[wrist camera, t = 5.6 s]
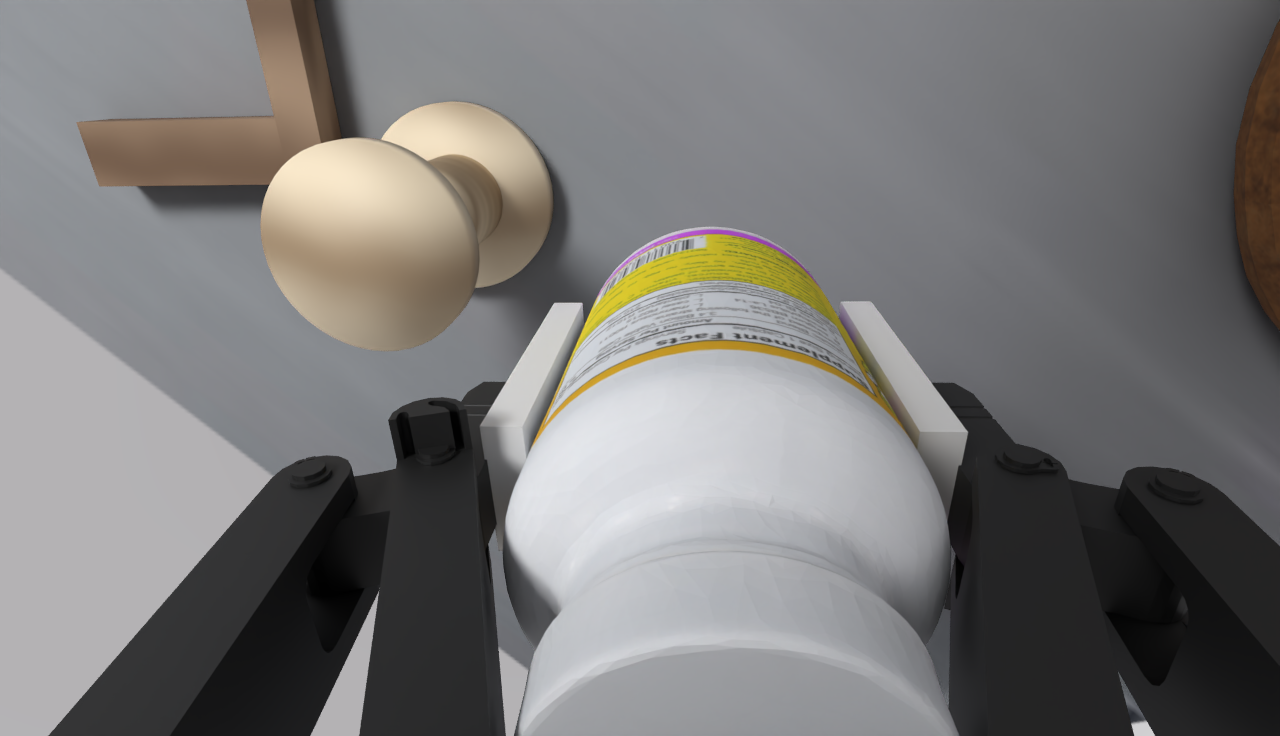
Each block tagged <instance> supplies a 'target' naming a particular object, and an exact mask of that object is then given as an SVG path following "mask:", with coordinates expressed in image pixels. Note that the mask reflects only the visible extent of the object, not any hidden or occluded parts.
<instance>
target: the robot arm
mask: <svg viewBox="0 0 1280 736" xmlns="http://www.w3.org/2000/svg"><path fill="white" fill-rule="evenodd" d="M839 320H840V321H841V323H842V325H843V326H844V328H845V329H846V331H847V333H848V335H849V337H850V338H851V340H852V342H853V343H854V345H855V347H856V349H857V350H858V352H859V354H860V355H861V357H862V359H863V360H864V362H865V364H866V366H867V367H868V369H869V371H870V372H871V374H872V376H873V377H874V379H875V381H876V382H877V384H878V386H879V387H880V389H881V391H882V392H883V394H884V396H885V398H886V399H887V401H888V402H889V404H890V406H891V407H892V409H893V411H894V413H895V414H896V416H897V418H898V419H899V421H900V422H901V424H902V426H903V427H904V429H905V431H906V432H907V434H908V435H909V437H910V439H911V440H912V442H913V444H914V445H915V447H916V449H917V450H918V452H919V454H920V456H921V458H922V460H923V461H924V463H925V465H926V467H927V468H928V470H929V472H930V474H931V476H932V478H933V480H934V482H935V485H936V487H937V489H938V492H939V495H940V498H941V500H942V503H943V506H944V510H945V514H946V518H947V524H948V530H949V536H950V544H951V546H952V548H953V549H954V551H955V553H956V555H955V560H954V565H953V569H952V574H951V579H950V583H949V588H948V593H947V597H946V602H945V607H944V609H948V610H951V615H950V670H949V711H950V713H951V716H952V718H953V721H954V723H955V726H956V728H957V731H958V733H959V736H1134V733H1133V729H1132V725H1131V721H1130V718H1129V714H1128V710H1127V706H1126V702H1125V698H1124V694H1123V690H1122V686H1121V682H1120V678H1119V675H1118V672H1119V673H1120V675H1121V677H1122V679H1123V680H1124V682H1125V684H1126V686H1127V687H1128V689H1129V691H1130V692H1131V694H1132V696H1133V698H1134V699H1135V701H1136V703H1137V705H1138V706H1139V708H1140V710H1141V712H1142V713H1143V715H1144V717H1145V719H1146V720H1147V722H1148V724H1149V726H1150V727H1151V729H1152V731H1153V733H1154V734H1155V736H1280V546H1279V545H1278V544H1277V543H1276V542H1275V541H1274V540H1272V539H1271V538H1270V537H1269V536H1268V535H1267V534H1266V533H1265V532H1264V531H1263V530H1262V529H1261V528H1260V527H1259V526H1258V525H1257V524H1255V523H1254V522H1253V521H1252V520H1251V519H1250V518H1249V517H1248V516H1247V515H1246V514H1245V513H1244V512H1243V511H1242V510H1241V509H1240V508H1239V507H1237V506H1236V505H1235V504H1234V503H1233V502H1232V501H1231V500H1230V499H1229V498H1228V497H1227V496H1226V495H1225V494H1224V493H1222V492H1221V491H1220V490H1218V489H1217V488H1215V487H1214V486H1212V485H1211V484H1209V483H1207V482H1205V481H1203V480H1201V479H1199V478H1196V477H1195V476H1194V475H1192V474H1189V473H1186V472H1183V471H1182V472H1179V470H1175V469H1171V468H1166V469H1165V468H1159V467H1136V468H1134V469H1131V470H1128V471H1127V472H1126V474H1125V476H1124V478H1123V480H1122V484H1121V487H1120V489H1114V488H1109V487H1103V486H1098V485H1092V484H1087V483H1082V482H1078V481H1073V480H1069V479H1068V476H1067V472H1066V470H1065V468H1064V467H1063V465H1062V464H1061V463H1060V462H1059V461H1058V460H1056V459H1055V458H1053V457H1052V456H1051V455H1049V454H1047V453H1044V452H1042V451H1040V450H1037V449H1035V448H1031V447H1027V446H1023V445H1019V444H1015V443H1014V442H1013V440H1012V439H1011V438H1010V437H1009V436H1008V434H1007V433H1006V432H1005V431H1004V430H1003V429H1002V427H1001V426H1000V425H999V424H998V423H997V421H996V420H995V419H992V416H991V414H990V413H989V412H988V411H987V410H986V409H984V406H983V405H982V404H981V403H980V401H979V400H978V399H977V398H976V397H975V395H974V394H972V393H971V392H969V391H967V390H965V389H964V388H962V387H960V386H958V385H957V384H955V383H931V382H930V380H929V379H928V378H927V376H926V375H925V374H924V372H923V371H922V370H921V368H920V367H919V366H918V364H917V363H916V361H915V360H914V359H913V357H912V356H911V355H910V353H909V352H908V351H907V349H906V348H905V347H904V345H903V344H902V343H901V341H900V340H899V339H898V337H897V336H896V335H895V333H894V332H893V331H892V329H891V328H890V326H889V325H888V324H887V322H886V321H885V320H884V318H883V317H882V316H881V314H880V313H879V312H878V310H877V309H876V308H875V306H874V305H873V304H872V302H840V312H839ZM583 328H584V317H583V303H554V304H553V306H552V307H551V309H550V311H549V312H548V314H547V316H546V317H545V319H544V321H543V322H542V324H541V326H540V327H539V329H538V331H537V332H536V334H535V336H534V337H533V339H532V341H531V342H530V344H529V345H528V347H527V349H526V350H525V352H524V354H523V355H522V357H521V359H520V360H519V362H518V364H517V365H516V367H515V369H514V370H513V372H512V374H511V375H510V377H509V379H508V380H507V382H483V383H481V384H480V385H478V386H477V387H475V388H474V389H472V390H470V391H469V392H468V393H467V394H466V396H465V397H464V398H463V400H462V401H461V402H460V401H458V400H456V399H451V398H444V397H441V398H428V399H423V400H419V401H414V402H412V403H409V404H407V405H404V406H402V407H400V408H399V409H398V410H396V411H395V412H393V413H392V415H391V417H390V418H389V420H388V421H389V426H390V431H391V435H392V440H393V444H394V449H395V453H396V458H397V465H396V469H393V470H389V471H384V472H379V473H373V474H367V475H361V476H355V477H354V475H353V471H352V467H351V465H350V463H349V461H348V460H346V459H344V458H342V457H339V456H319V457H315V456H314V457H309V458H306V459H305V460H304V459H302V460H299V461H297V462H295V463H294V464H292V465H290V466H288V467H286V468H284V469H282V470H281V471H280V472H278V473H277V474H276V475H275V476H274V477H272V479H271V480H270V481H269V482H268V483H267V484H266V485H265V487H264V488H263V489H262V490H261V491H260V492H259V494H258V495H257V496H256V497H255V498H254V499H253V500H252V502H251V503H250V504H249V505H248V506H247V507H246V509H245V510H244V511H243V512H242V513H241V514H240V515H239V517H238V518H237V519H236V520H235V521H234V522H233V523H232V525H231V526H230V527H229V528H228V529H227V530H226V532H225V533H224V534H223V535H222V536H221V538H219V540H218V541H217V542H216V543H215V545H213V547H212V548H211V549H210V550H209V551H208V552H207V553H206V555H205V556H204V557H203V558H202V559H201V560H200V562H199V563H198V564H197V565H196V566H195V567H194V569H193V570H192V571H191V572H190V573H189V574H188V576H187V577H186V578H185V579H184V580H183V581H182V582H181V583H180V585H179V586H178V587H177V588H176V589H175V590H174V592H173V593H172V594H171V595H170V596H169V597H168V598H167V600H166V601H165V602H164V603H163V604H162V606H161V607H160V608H159V609H158V610H157V611H156V612H155V613H154V615H153V616H152V617H151V618H150V619H149V620H148V622H147V623H146V624H145V625H144V626H143V627H142V628H141V630H140V631H139V632H138V633H137V634H136V635H135V637H134V638H133V639H132V640H131V641H130V642H129V644H128V645H127V646H126V647H125V648H124V649H123V650H122V652H121V653H120V654H119V655H118V656H117V657H116V659H115V660H114V661H113V662H112V663H111V664H110V665H109V667H108V668H107V669H106V670H105V671H104V672H103V674H102V675H101V676H100V677H99V678H98V679H97V680H96V681H95V683H94V684H93V685H92V686H91V687H90V688H89V690H88V691H87V692H86V693H85V694H84V695H83V696H82V698H81V699H80V700H79V701H78V702H77V703H76V705H75V706H74V707H73V708H72V709H71V710H70V711H69V713H68V714H67V715H66V716H65V717H64V718H63V720H62V721H61V722H60V723H59V724H58V725H57V727H56V728H55V729H54V730H53V731H52V732H51V733H50V735H49V736H310V735H311V733H312V731H313V729H314V727H315V725H316V722H317V721H318V718H319V716H320V714H321V712H322V710H323V708H324V706H325V703H326V701H327V699H328V697H329V695H330V693H331V691H332V688H333V687H334V685H335V682H336V680H337V678H338V676H339V674H340V672H341V670H342V668H343V666H344V664H345V661H346V659H347V657H348V655H349V653H350V651H351V649H352V647H353V645H354V642H355V640H356V638H357V636H358V634H359V632H360V630H361V628H362V625H363V623H364V621H365V619H366V617H367V615H368V613H369V610H370V609H371V606H372V604H373V602H374V600H375V598H376V596H377V594H378V591H379V596H378V604H377V611H376V618H375V625H374V633H373V641H372V647H371V655H370V662H369V669H368V676H367V683H366V691H365V698H364V705H363V713H362V720H361V728H360V735H359V736H506V733H505V722H504V711H503V699H502V686H501V674H500V662H499V651H498V639H497V627H496V615H495V603H494V591H493V579H492V568H491V559H490V553H489V546H488V543H489V541H490V538H491V536H492V534H493V531H494V529H495V530H496V536H497V543H498V549H499V551H503V535H504V527H505V519H506V514H507V510H508V506H509V502H510V499H511V496H512V493H513V490H514V487H515V484H516V482H517V480H518V478H519V475H520V473H521V471H522V468H523V466H524V464H525V461H526V459H527V457H528V454H529V452H530V450H531V447H532V445H533V442H534V440H535V438H536V436H537V433H538V431H539V429H540V427H541V425H542V422H543V420H544V418H545V416H546V413H547V411H548V409H549V407H550V405H551V402H552V400H553V398H554V395H555V393H556V391H557V388H558V386H559V384H560V381H561V379H562V376H563V374H564V372H565V369H566V367H567V365H568V363H569V360H570V358H571V356H572V353H573V351H574V349H575V346H576V344H577V342H578V339H579V337H580V335H581V333H582V330H583ZM379 588H380V589H379ZM1117 670H1118V671H1117Z"/></svg>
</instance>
